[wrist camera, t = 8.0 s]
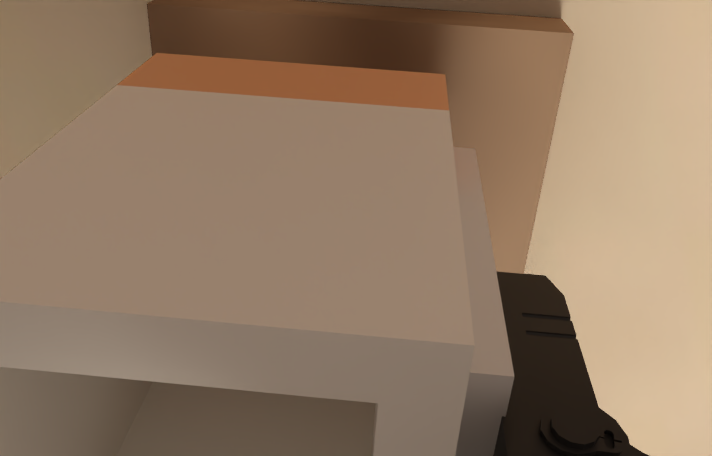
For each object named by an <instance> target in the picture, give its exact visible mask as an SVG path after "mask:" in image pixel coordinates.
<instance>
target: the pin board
mask: <svg viewBox="0 0 712 456" xmlns="http://www.w3.org/2000/svg"><path fill="white" fill-rule="evenodd" d="M147 9H148V18H149V28H150V38H151V48H152V56H153V55H155V54H156V53H166V54H179V55H193V56H206V57H220V58H233V59H247V60H260V61H274V62H287V63H300V64H314V65H327V66H341V67H354V68H368V69H381V70H395V71H408V72H422V73H435V74H445V76H446V85H447V95H448V104H449V113H450V122H451V132H452V141H453V147H460V148H473V149H475V151H476V157H477V162H478V168H479V174H480V180H481V186H482V191H483V197H484V203H485V209H486V214H487V220H488V226H489V232H490V238H491V243H492V249H493V255H494V261H495V267H496V271H497V272H509V273H520V274H523V273H524V268H525V263H526V259H527V254H528V249H529V244H530V240H531V235H532V230H533V225H534V221H535V216H536V211H537V206H538V202H539V197H540V192H541V187H542V182H543V178H544V173H545V168H546V163H547V159H548V154H549V149H550V144H551V140H552V135H553V130H554V125H555V121H556V116H557V111H558V106H559V101H560V97H561V92H562V87H563V82H564V78H565V73H566V68H567V63H568V59H569V54H570V49H571V44H572V40H573V35H574V33H573V32H572V31H571V29H570V28H569V27H568V26H567V25H566V23H565V22H564V21H563V20H562V19H560V18H546V17H531V16H516V15H502V14H487V13H473V12H458V11H443V10H429V9H414V8H400V7H385V6H370V5H356V4H341V3H327V2H312V1H298V0H152V1H151V2H149V3H148V4H147Z"/></svg>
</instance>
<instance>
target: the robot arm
mask: <svg viewBox="0 0 712 456" xmlns="http://www.w3.org/2000/svg"><path fill="white" fill-rule="evenodd" d="M453 150H454V159H455V168H456V178H457V187H458V196H459V205H460V215H461V224H462V233H463V242H464V252H465V261H466V270H467V279H468V288H469V298H470V307H471V316H472V325H473V335H474V344H475V347H474V352H473V358H472V363H471V369H470V375H469V380H468V386H467V391H466V397H465V403H464V408H463V414H462V420H461V425H460V431H459V436H458V442H457V448H456V453H455V456H649V455H647V454H644V453H642V452H641V451H639V450H638V449H636V448H634V447H633V446H631V445H630V444H629V440H628V436H627V435H626V434H625V432H624V431H623V430H622V428H621V427H620V425H619V424H618V423H617V421H616V420H615V419H613V418H612V417H611V416H609V415H608V414H607V413H605V412H604V411H603V410H601V409H600V408H599V407H598V404H597V400H596V397H595V394H594V391H593V388H592V384H591V381H590V378H589V375H588V372H587V368H586V365H585V362H584V359H583V355H582V352H581V349H580V346H579V343H578V340H577V339H576V333H575V330H574V326H573V323H572V321H570V314H569V310H568V307H567V304H566V301H565V298H564V295H563V294H562V293H561V292H560V291H559V290H558V289H557V288H556V287H555V286H554V284H553V283H552V282H551V281H550V280H549V279H548V278H547V277H546V276H543V275H532V274H520V273H509V272H497V271H496V267H495V261H494V255H493V249H492V243H491V238H490V232H489V226H488V220H487V214H486V209H485V203H484V197H483V191H482V186H481V180H480V174H479V168H478V162H477V157H476V151H475V149H473V148H460V147H453Z"/></svg>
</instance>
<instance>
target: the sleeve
mask: <svg viewBox="0 0 712 456" xmlns="http://www.w3.org/2000/svg"><path fill="white" fill-rule="evenodd" d="M474 347H475V344H474V335H473V325H472V316H471V307H470V298H469V288H468V279H467V270H466V261H465V252H464V242H463V233H462V224H461V215H460V205H459V196H458V187H457V178H456V168H455V159H454V150H453V141H452V132H451V122H450V113H449V104H448V95H447V85H446V76H445V74H435V73H422V72H408V71H395V70H381V69H368V68H354V67H341V66H327V65H314V64H300V63H287V62H274V61H260V60H247V59H233V58H220V57H206V56H193V55H179V54H166V53H156V54H155V55H153V56H152V57H151V58H150V59H149V60H147V61H146V62H145V63H144V64H142V65H141V66H140V67H139V68H137V69H136V70H135V71H134V72H132V73H131V74H130V75H129V76H127V77H126V78H125V79H124V80H122V81H121V82H120V83H119V84H117V85H116V86H115V87H114V88H113V89H111V90H110V91H109V92H108V93H106V94H105V95H104V96H103V97H101V98H100V99H99V100H98V101H96V102H95V103H94V104H93V105H91V106H90V107H89V108H88V109H86V110H85V111H84V112H83V113H81V114H80V115H79V116H78V117H77V118H75V119H74V120H73V121H72V122H70V123H69V124H68V125H67V126H65V127H64V128H63V129H62V130H60V131H59V132H58V133H57V134H55V135H54V136H53V137H52V138H50V139H49V140H48V141H47V142H46V143H44V144H43V145H42V146H41V147H39V148H38V149H37V150H36V151H34V152H33V153H32V154H31V155H29V156H28V157H27V158H26V159H24V160H23V161H22V162H21V163H19V164H18V165H17V166H16V167H14V168H13V169H12V170H11V171H10V172H8V173H7V174H6V175H5V176H3V177H2V178H1V179H0V456H455V453H456V448H457V442H458V436H459V431H460V425H461V420H462V414H463V408H464V403H465V397H466V391H467V386H468V380H469V375H470V369H471V363H472V358H473V352H474Z"/></svg>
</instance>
